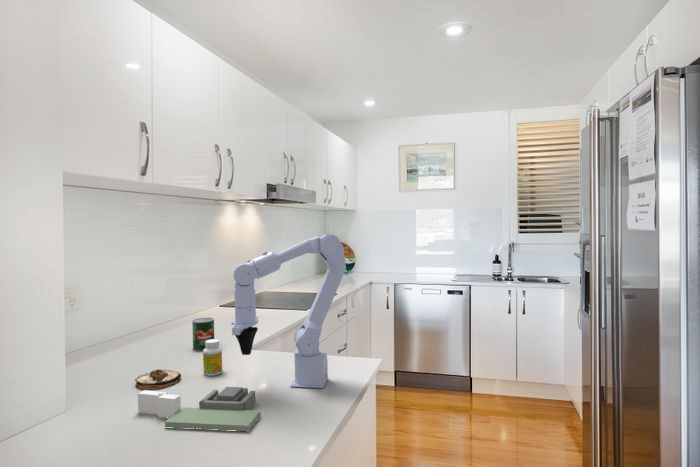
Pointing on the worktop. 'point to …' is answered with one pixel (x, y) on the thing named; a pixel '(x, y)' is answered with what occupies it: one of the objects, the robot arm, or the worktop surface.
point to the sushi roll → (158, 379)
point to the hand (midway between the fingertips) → (246, 354)
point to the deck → (217, 414)
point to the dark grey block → (232, 394)
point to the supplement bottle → (212, 358)
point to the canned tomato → (202, 332)
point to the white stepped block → (158, 403)
